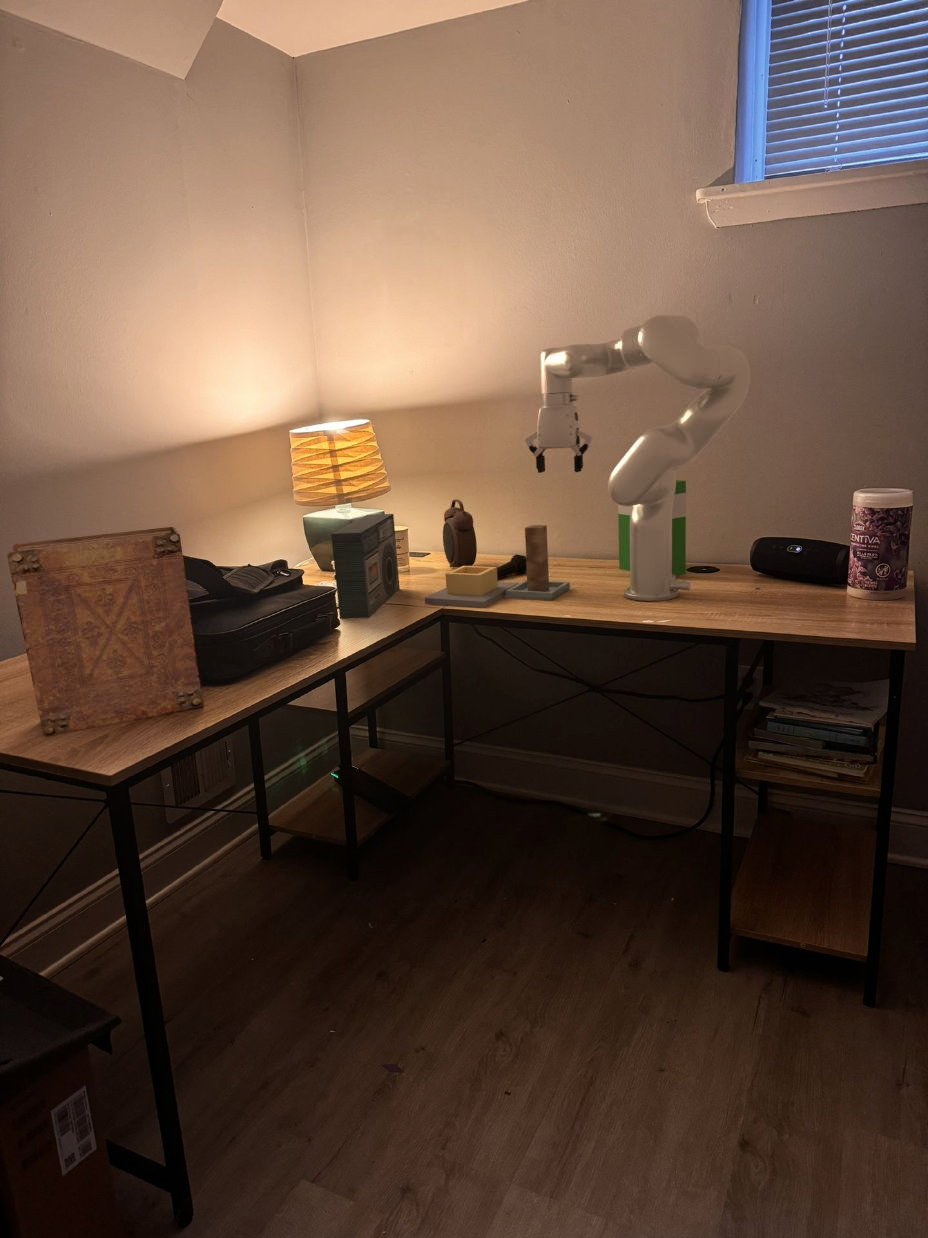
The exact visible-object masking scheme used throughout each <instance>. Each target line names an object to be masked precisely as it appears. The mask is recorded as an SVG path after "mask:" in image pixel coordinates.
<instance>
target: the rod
mask: <svg viewBox="0 0 928 1238" xmlns="http://www.w3.org/2000/svg"><path fill="white" fill-rule="evenodd" d="M547 526H548V525H547V524H543V525H542V524H541V525H540V524H531V525H528V526H525V527H524V539H525V557H526V565H527V571H526V580H527V588H528V591H539V592H546V591H548V590H549V581H550V578H549V577H550V576H549V554H548V553H549V552H548V529H547V528H548V527H547Z"/></svg>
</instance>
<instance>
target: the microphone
mask: <svg viewBox="0 0 928 1238" xmlns="http://www.w3.org/2000/svg"><path fill="white" fill-rule="evenodd" d="M525 573H527V565H526V555H524V554H523V555H522V554H514V555H513V556H512V557H511V558H510V561H508V562H506V563H504V564H502V565H500V566H498V567H497V580H499V579H502V578H505V577H508V576H511V575H514V574H519V575H523V574H525Z"/></svg>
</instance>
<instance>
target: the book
mask: <svg viewBox="0 0 928 1238" xmlns="http://www.w3.org/2000/svg"><path fill="white" fill-rule="evenodd" d="M183 555H184V554H183V546H182V541H181V534H180V533H179V531H178V530H177V529H176V527H174V526H168V527H159V528H157V527H156V528H150V529H139V530H132V531H122V532H120V531H119V532H113V533H103V534H94V535H93V534H92V535H86V536H85V535H83V536H76V537H66V538H57V539H47V540H39V541H38V540H37V541H29V542H19V543H15V544H13V546H12V551H8V553H7V557H6V558H7V561H8V567H9V572H10V575H11V576H10V577H11V580H12V581H11V582H12V587H13V592H14V597H15V601H16V606H17V611H18V616H19V621H20V625H21V632H22V636H23V641H24V646H25V651H26V656H27V660H28V665H29V672H30V675H31V680H32V686H33V691H34V695H35V700H36V705H37V711H38V714H39V721H40V725H41V730H42V735H43V736H44V737H50V736H51V737H52V736H56V735H57V736H58V735H63V734H68V733H73V732H78V731H82V730H83V731H84V730H89V729H94V728H100V727H105V726H111V725H116V724H120V723H126V722H131V721H138V720H142V719H147V718H148V719H149V718H151V717H159V716H165V715H169V714H174V713H179V712H184V711H190V710H196V709H201V708H204V707H205V702H204V696H203V695H204V694H203V688H202V687H203V686H202V681H201V680H202V679H201V675H200V666H199V660H198V652H197V646H196V639H195V638H196V637H195V633H194V632H195V631H194V625H193V616H192V610H191V605H190V597H189V591H188V590H189V589H188V583H187V577H186V576H187V575H186V569H185V562H184V556H183Z"/></svg>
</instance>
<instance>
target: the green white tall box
mask: <svg viewBox="0 0 928 1238" xmlns="http://www.w3.org/2000/svg"><path fill="white" fill-rule="evenodd" d="M617 505H618V507H617V508H618V509H617V511H618V513H617V515H618V517H617V518H618V520H617V521H618V523H617V524H618V567H619V568H618V569H619V570H624V571H627V572H630V515H631V510H632V506H622V505H619V504H617ZM686 511H687V481H686V480H681V479H680V480H679V479H676V488H675V494H674V500H673V508H672V575H675V577H679V576H685V575H686V572H687V571H686V567H687V566H686V560H687V559H686V558H687V557H686V556H687V555H686V554H687V553H686V548H687V547H686V545H687V544H686V543H687V542H686V541H687V539H686V537H687V536H686V534H687V529H686V526H687V525H686V523H687V521H686V519H687V512H686Z"/></svg>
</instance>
